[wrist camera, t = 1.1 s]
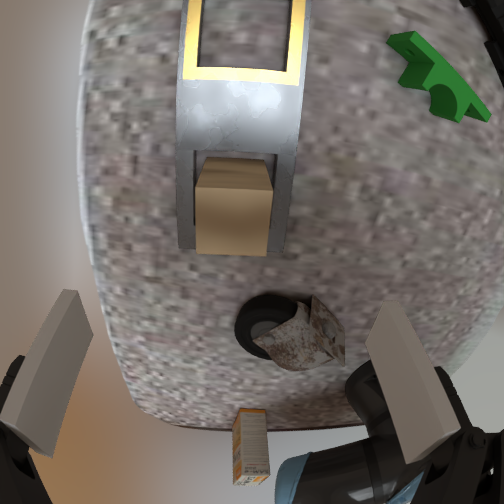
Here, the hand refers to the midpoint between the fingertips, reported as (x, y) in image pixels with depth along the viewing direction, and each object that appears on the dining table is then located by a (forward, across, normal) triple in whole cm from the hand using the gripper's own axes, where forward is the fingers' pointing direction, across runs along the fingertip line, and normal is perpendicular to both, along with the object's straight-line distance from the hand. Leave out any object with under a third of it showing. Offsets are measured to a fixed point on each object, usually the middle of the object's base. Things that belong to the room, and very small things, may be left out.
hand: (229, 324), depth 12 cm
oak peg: (+18, 0, 0) cm, 18 cm away
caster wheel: (+18, -7, +17) cm, 25 cm away
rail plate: (+18, 0, -7) cm, 19 cm away
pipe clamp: (+18, -17, -12) cm, 28 cm away
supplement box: (+17, -4, +43) cm, 47 cm away
